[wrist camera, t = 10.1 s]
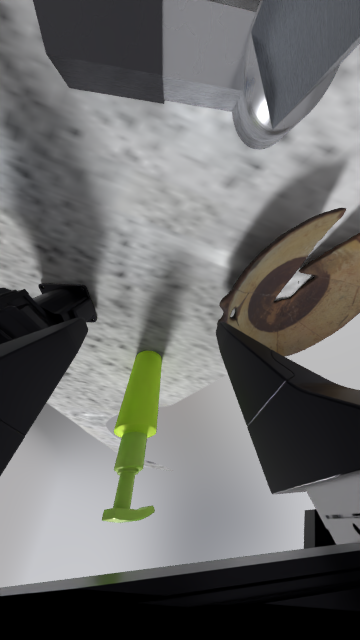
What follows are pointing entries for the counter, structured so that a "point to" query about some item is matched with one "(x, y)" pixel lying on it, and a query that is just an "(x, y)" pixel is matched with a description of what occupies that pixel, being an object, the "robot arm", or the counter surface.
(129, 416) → the soap dispenser
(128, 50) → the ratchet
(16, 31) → the counter surface
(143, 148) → the counter surface
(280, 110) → the grey orange-striped post
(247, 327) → the notched wooden ornament
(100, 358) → the counter surface
